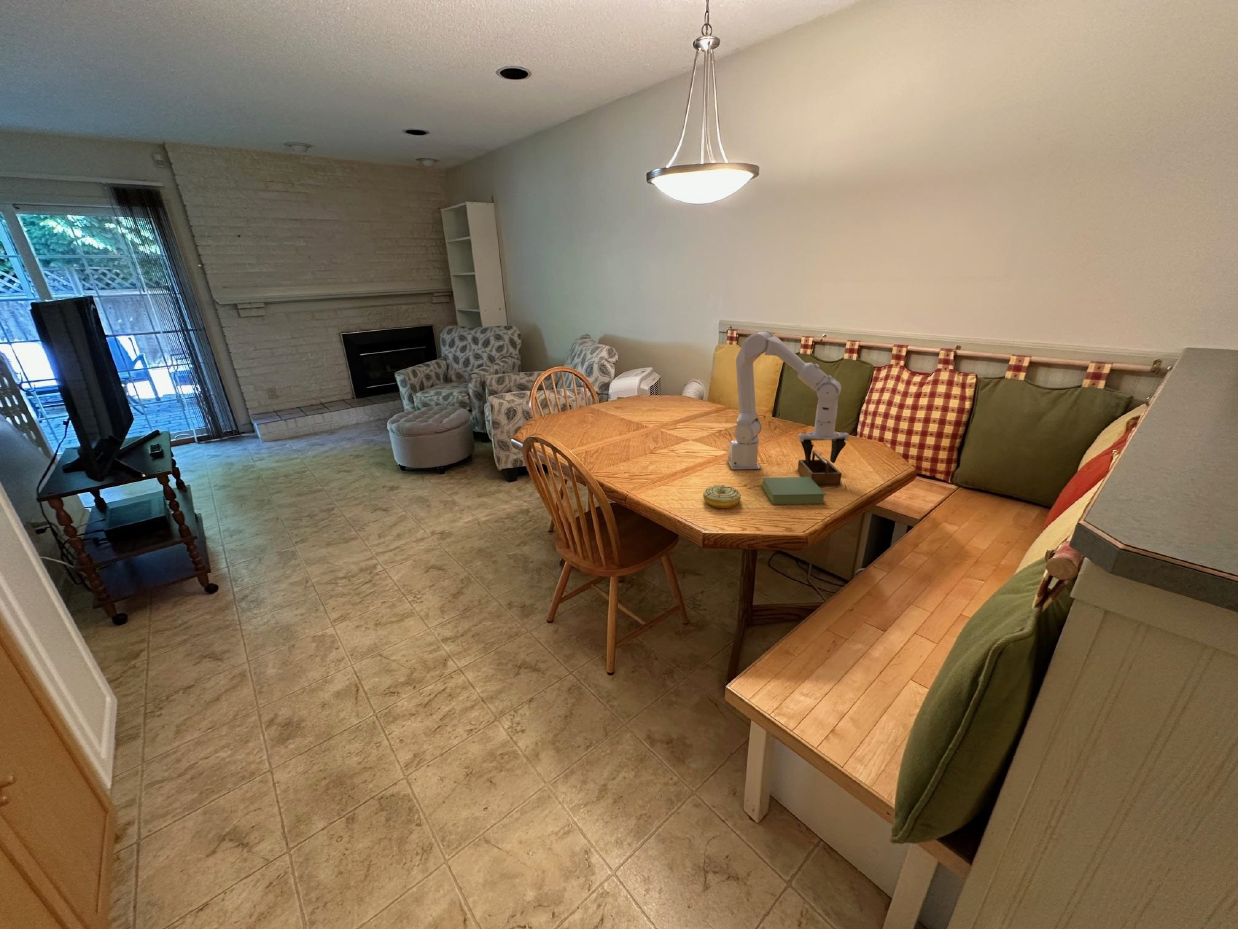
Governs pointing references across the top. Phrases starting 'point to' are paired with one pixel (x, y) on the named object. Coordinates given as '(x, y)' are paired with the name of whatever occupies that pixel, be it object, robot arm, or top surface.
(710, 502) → the decorated donut
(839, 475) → the basket
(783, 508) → the top surface
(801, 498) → the green flat block
